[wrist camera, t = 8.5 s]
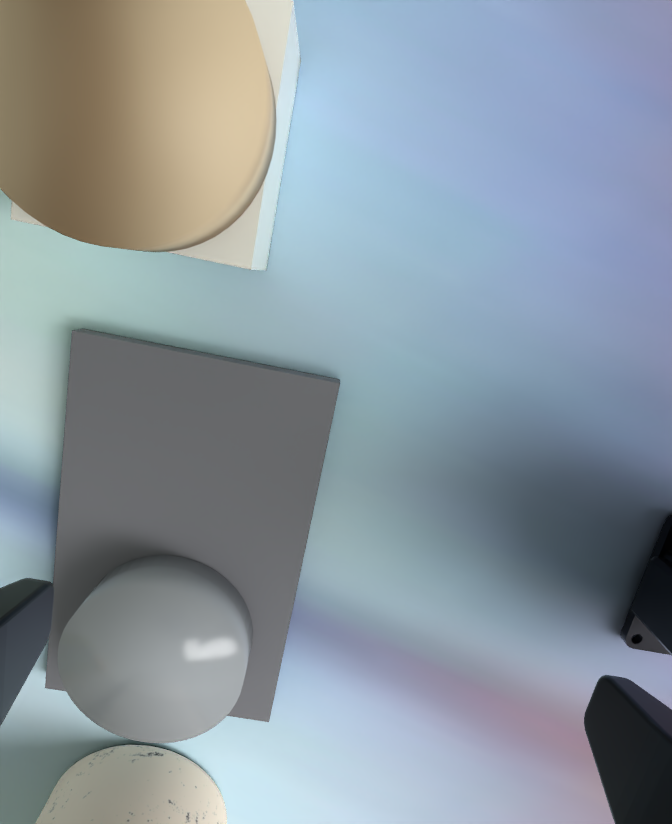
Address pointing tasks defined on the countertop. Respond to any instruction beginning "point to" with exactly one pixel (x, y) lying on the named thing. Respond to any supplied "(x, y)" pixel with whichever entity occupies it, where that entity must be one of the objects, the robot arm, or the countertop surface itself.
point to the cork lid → (134, 118)
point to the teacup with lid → (134, 790)
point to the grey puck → (157, 650)
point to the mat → (190, 481)
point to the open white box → (254, 228)
